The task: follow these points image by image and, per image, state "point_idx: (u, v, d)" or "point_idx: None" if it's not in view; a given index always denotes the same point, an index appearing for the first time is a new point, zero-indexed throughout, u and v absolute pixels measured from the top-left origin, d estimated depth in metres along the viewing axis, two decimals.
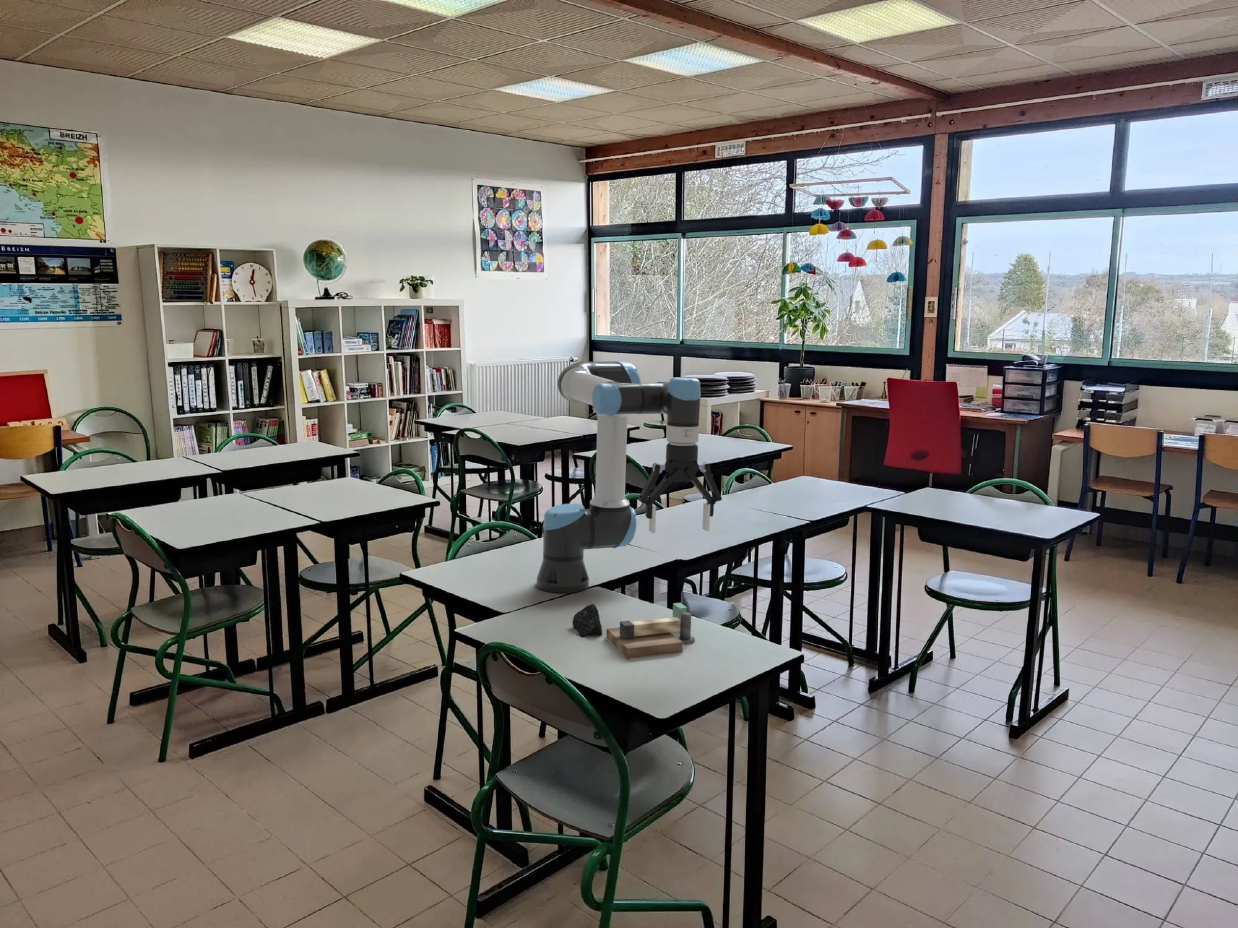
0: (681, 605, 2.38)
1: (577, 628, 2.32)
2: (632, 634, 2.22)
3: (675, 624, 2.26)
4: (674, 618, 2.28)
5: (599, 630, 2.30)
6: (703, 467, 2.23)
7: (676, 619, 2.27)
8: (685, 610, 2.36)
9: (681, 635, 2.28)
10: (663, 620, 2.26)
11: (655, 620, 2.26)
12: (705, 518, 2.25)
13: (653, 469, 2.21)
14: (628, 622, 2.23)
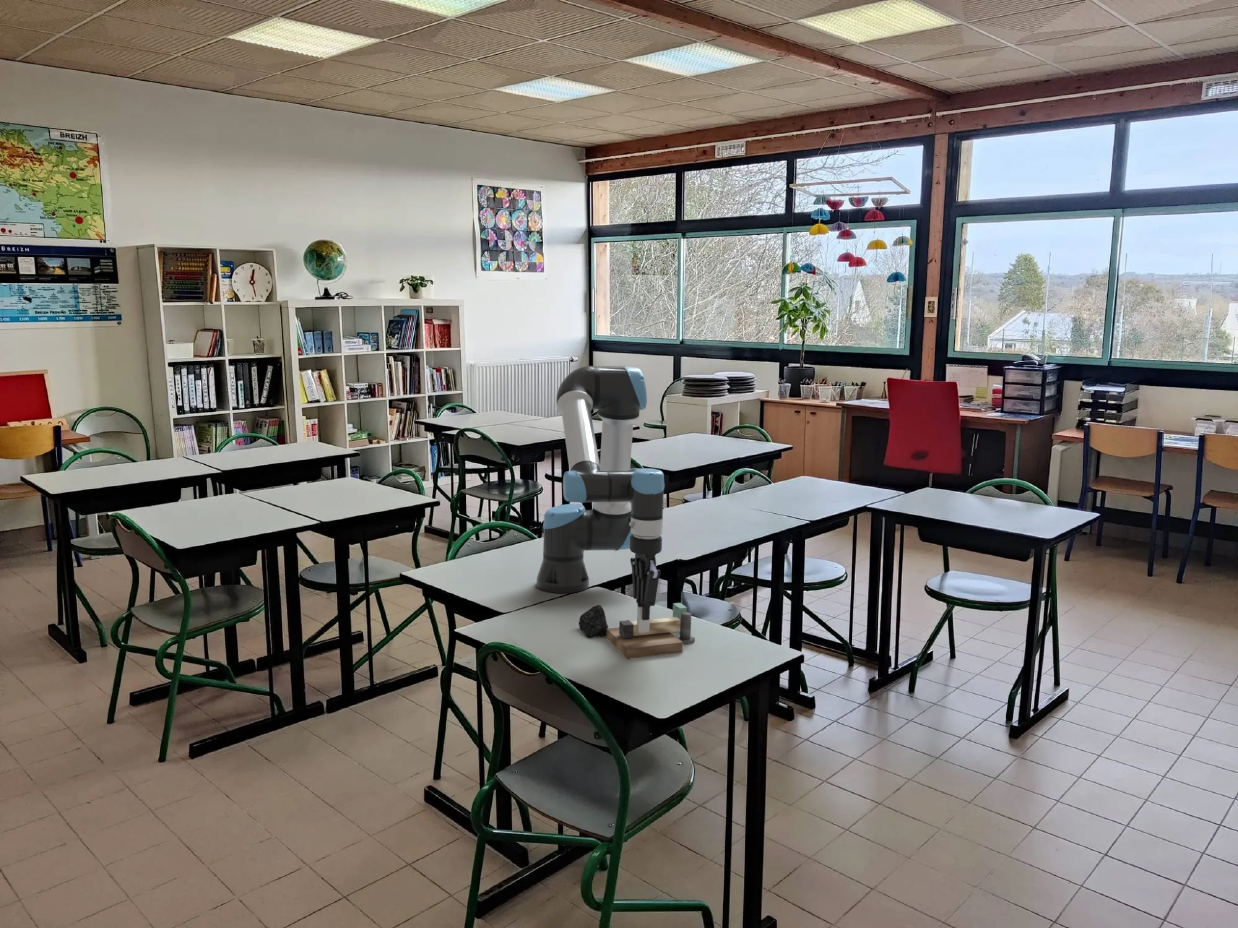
0: (681, 605, 2.38)
1: (583, 629, 2.32)
2: (632, 633, 2.22)
3: (675, 624, 2.26)
4: (674, 618, 2.28)
5: (606, 631, 2.30)
6: None
7: (676, 619, 2.27)
8: (685, 610, 2.36)
9: (681, 635, 2.28)
10: (663, 620, 2.26)
11: (655, 620, 2.26)
12: None
13: None
14: (627, 622, 2.24)
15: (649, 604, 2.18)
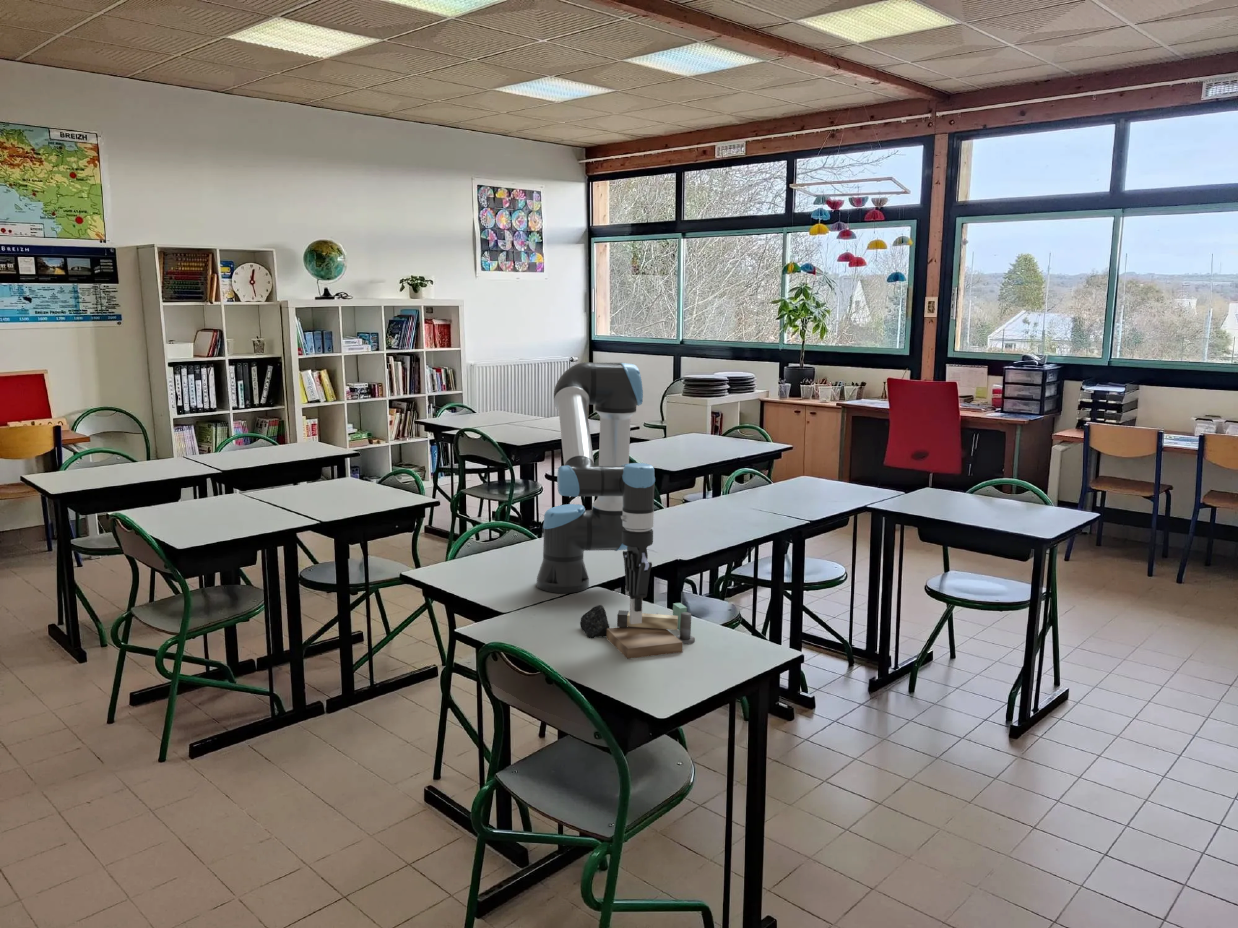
0: (681, 605, 2.38)
1: (585, 629, 2.32)
2: (625, 623, 2.29)
3: (671, 622, 2.28)
4: (674, 616, 2.29)
5: None
6: (643, 563, 2.21)
7: (674, 617, 2.28)
8: (685, 610, 2.36)
9: (681, 635, 2.28)
10: (661, 616, 2.29)
11: (653, 615, 2.30)
12: None
13: None
14: (625, 612, 2.31)
15: (641, 596, 2.23)
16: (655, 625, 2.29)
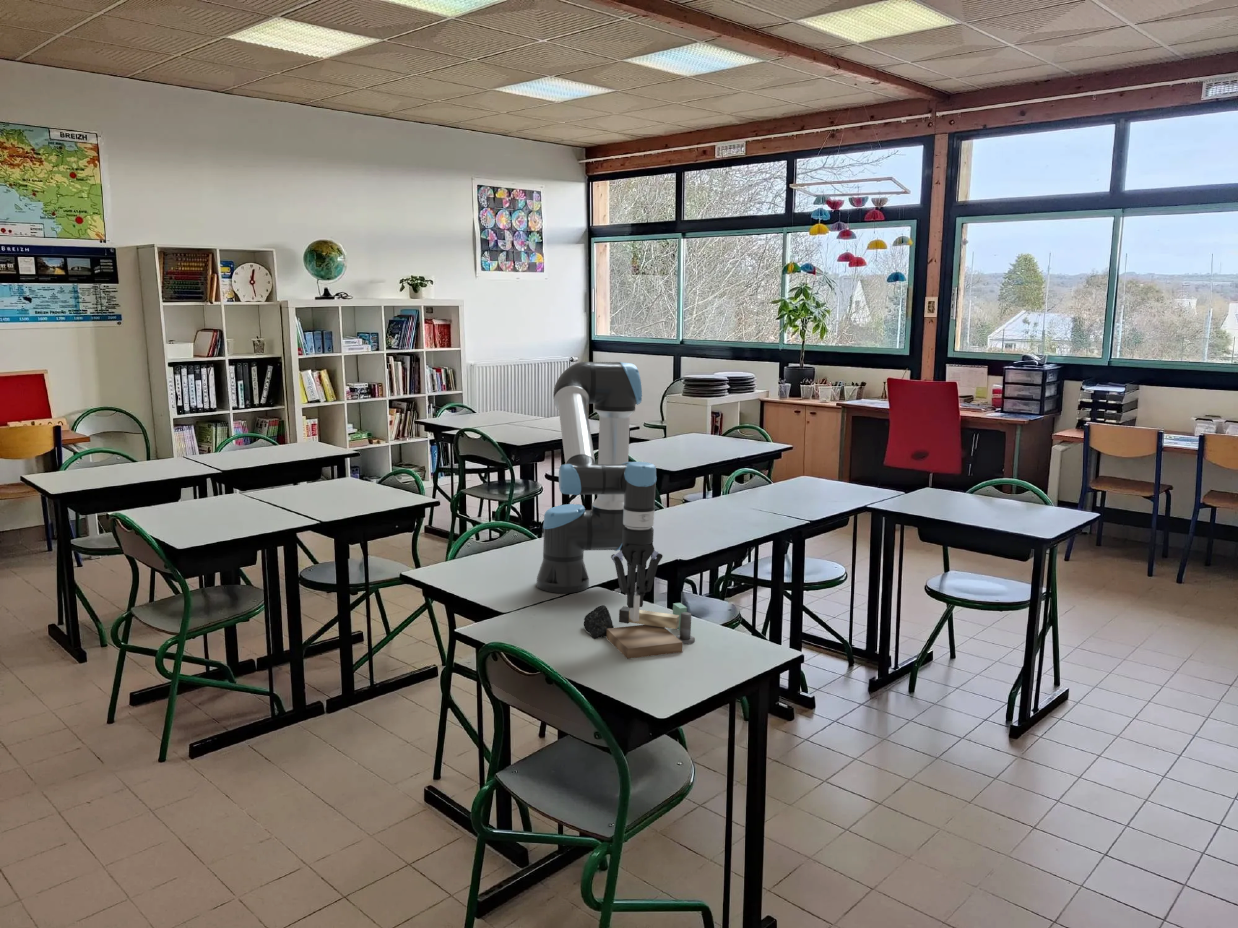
0: (681, 605, 2.38)
1: (589, 629, 2.31)
2: (627, 619, 2.32)
3: (671, 621, 2.29)
4: (674, 615, 2.30)
5: None
6: (655, 555, 2.29)
7: (674, 616, 2.29)
8: (685, 610, 2.36)
9: (681, 635, 2.28)
10: (661, 614, 2.30)
11: (655, 613, 2.31)
12: None
13: (614, 561, 2.26)
14: (628, 608, 2.34)
15: None
16: (655, 623, 2.30)
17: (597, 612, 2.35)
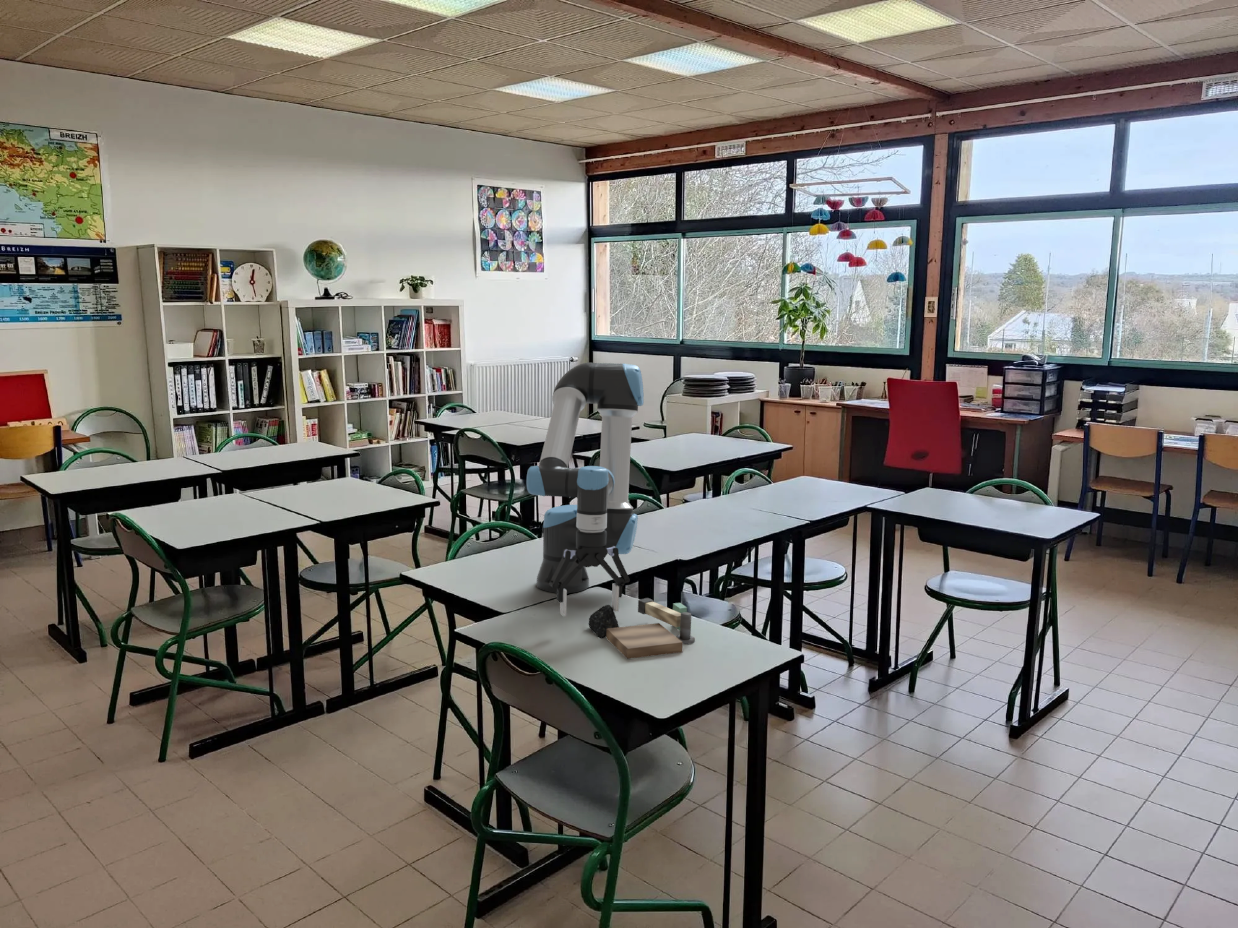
0: (681, 605, 2.38)
1: (594, 629, 2.32)
2: (643, 610, 2.39)
3: (673, 618, 2.31)
4: (679, 614, 2.31)
5: None
6: (611, 551, 2.33)
7: (677, 615, 2.30)
8: (685, 610, 2.36)
9: (681, 635, 2.28)
10: (668, 611, 2.33)
11: (666, 608, 2.35)
12: (614, 599, 2.35)
13: (564, 555, 2.29)
14: (648, 600, 2.40)
15: None
16: (662, 618, 2.34)
17: (602, 612, 2.36)
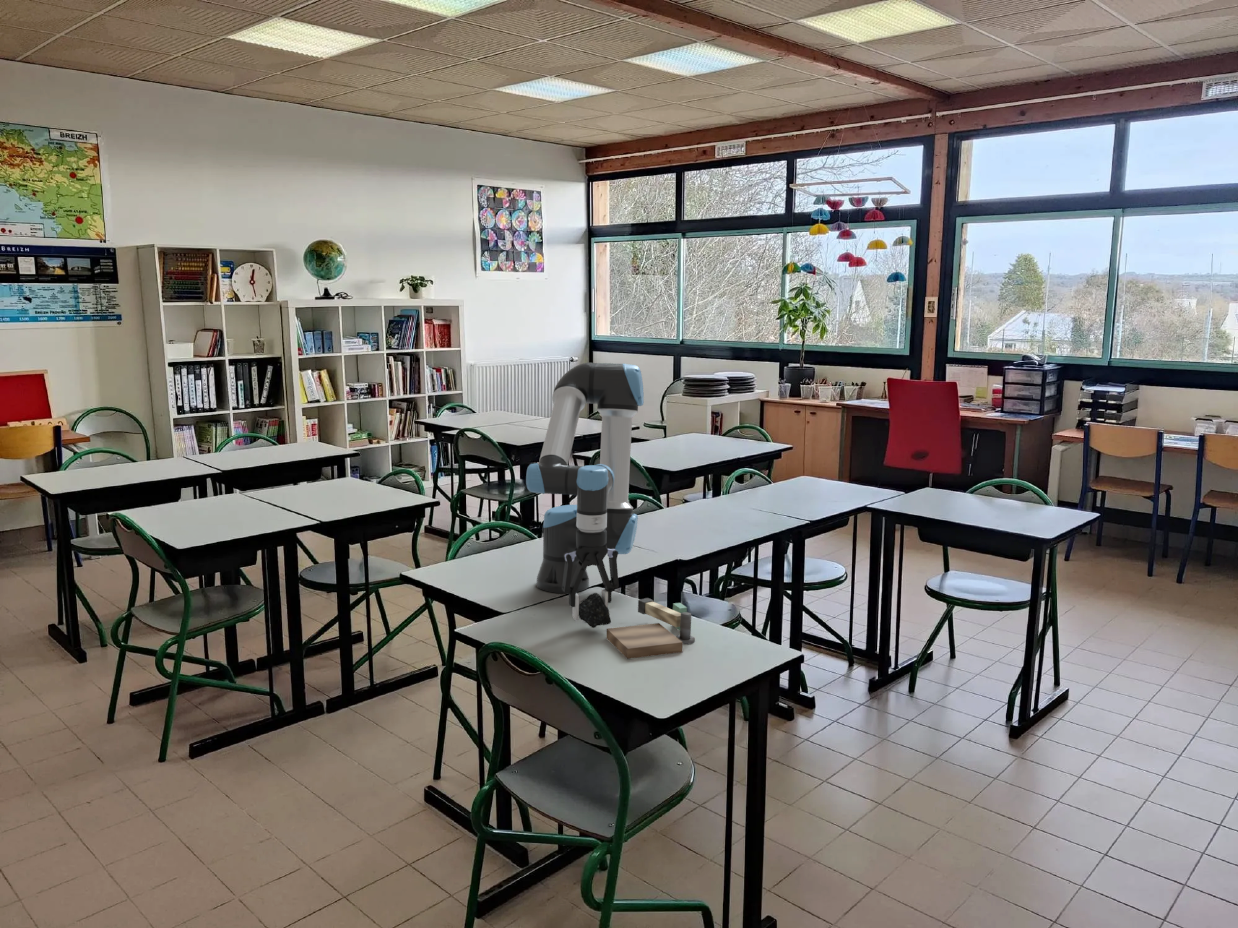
0: (681, 605, 2.38)
1: (585, 618, 2.30)
2: (643, 610, 2.39)
3: (673, 618, 2.31)
4: (679, 614, 2.31)
5: (609, 619, 2.30)
6: (611, 553, 2.33)
7: (677, 615, 2.30)
8: (685, 610, 2.36)
9: (681, 635, 2.28)
10: (668, 611, 2.33)
11: (666, 608, 2.35)
12: None
13: (565, 559, 2.30)
14: (648, 600, 2.40)
15: None
16: (662, 618, 2.34)
17: (591, 600, 2.34)
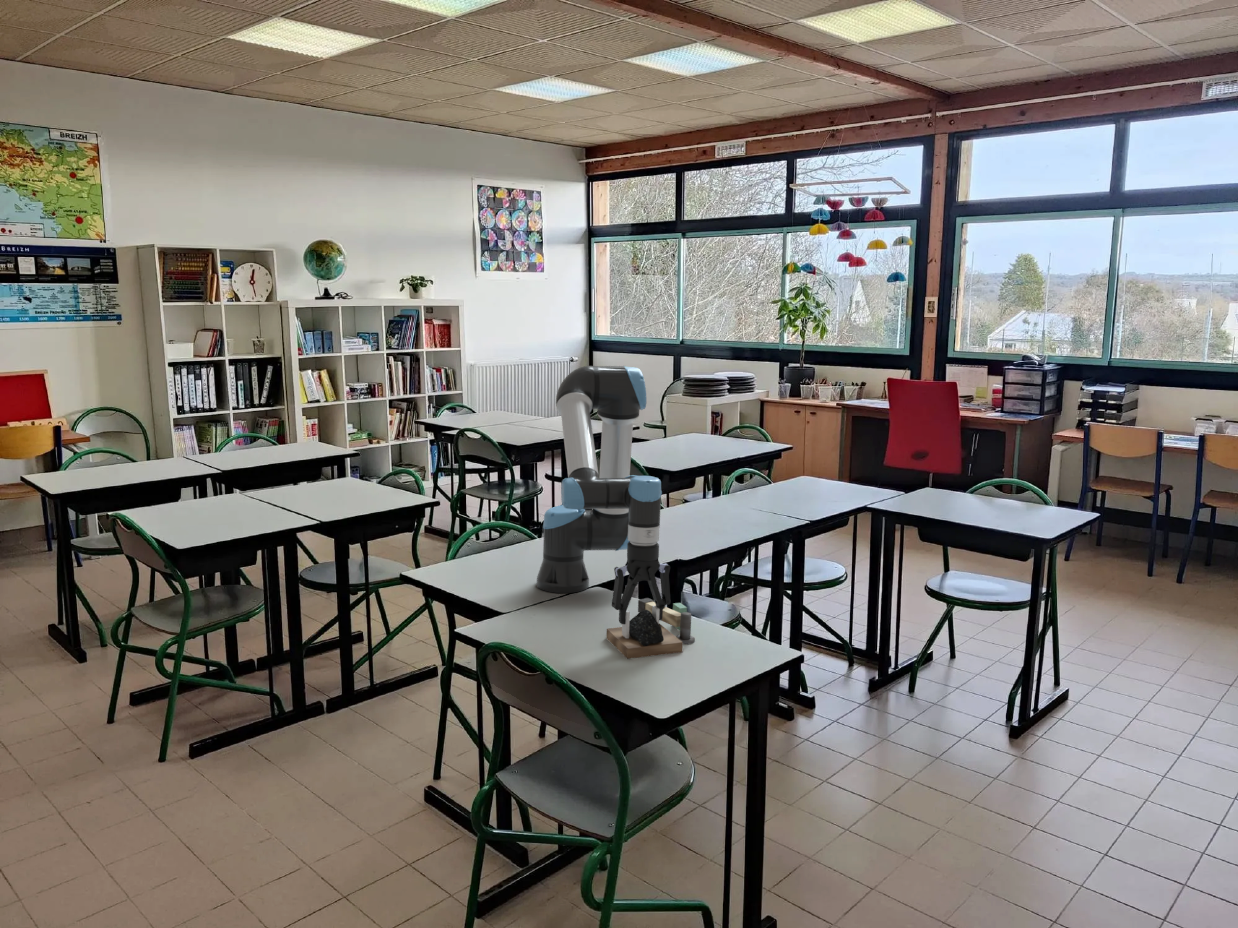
0: (681, 605, 2.38)
1: (637, 636, 2.20)
2: None
3: (673, 618, 2.31)
4: (679, 614, 2.31)
5: (661, 636, 2.19)
6: (663, 567, 2.23)
7: (677, 615, 2.30)
8: (685, 610, 2.36)
9: (681, 635, 2.28)
10: (668, 611, 2.33)
11: (666, 608, 2.35)
12: None
13: (616, 574, 2.20)
14: (648, 600, 2.40)
15: None
16: (662, 618, 2.34)
17: (641, 617, 2.24)
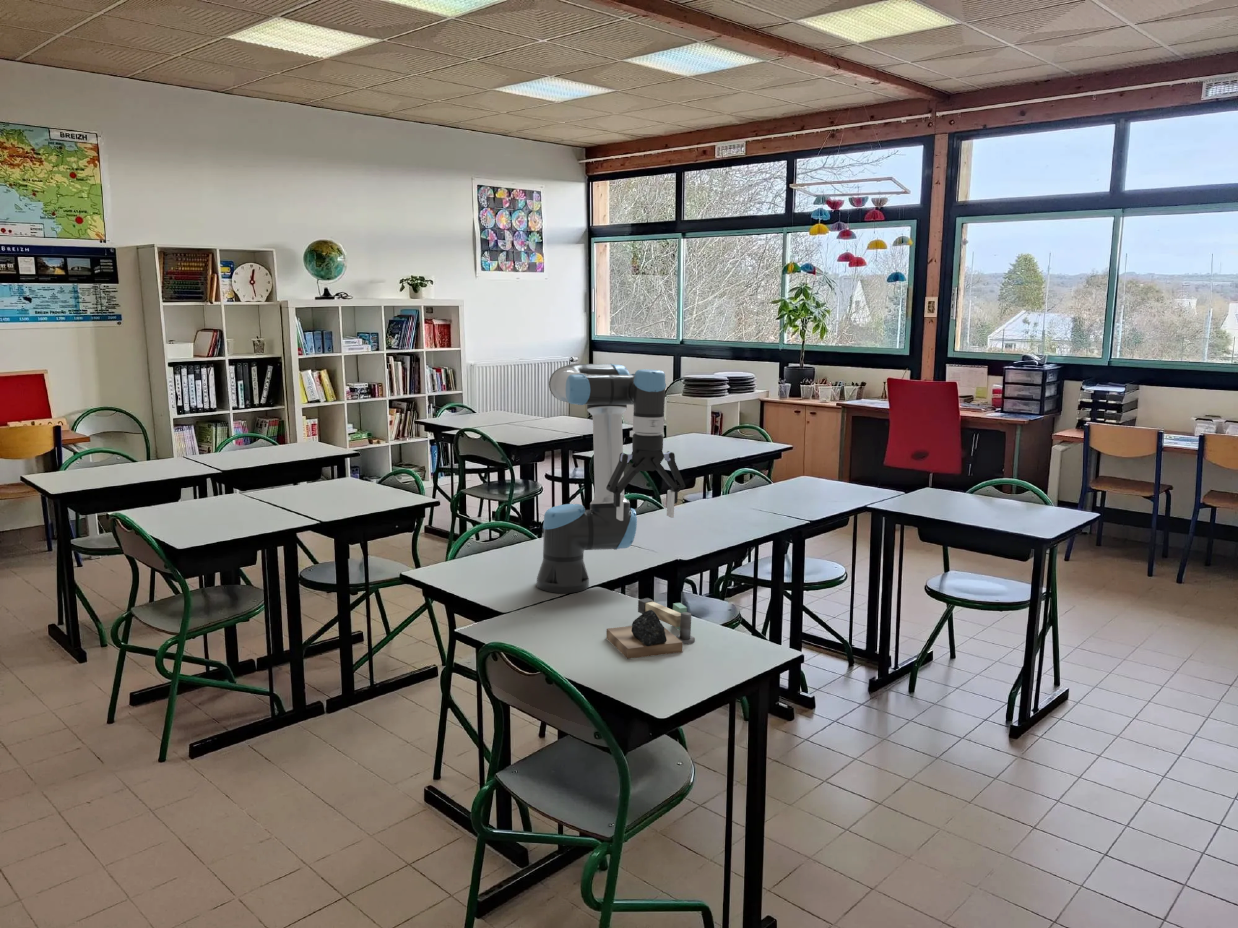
0: (681, 605, 2.38)
1: (640, 636, 2.20)
2: (643, 610, 2.39)
3: (673, 618, 2.31)
4: (679, 614, 2.31)
5: (664, 637, 2.19)
6: (668, 456, 2.31)
7: (677, 615, 2.30)
8: (685, 610, 2.36)
9: (681, 635, 2.28)
10: (668, 611, 2.33)
11: (666, 608, 2.35)
12: (669, 505, 2.34)
13: (620, 459, 2.27)
14: (648, 600, 2.40)
15: None
16: (662, 618, 2.34)
17: (645, 617, 2.24)
